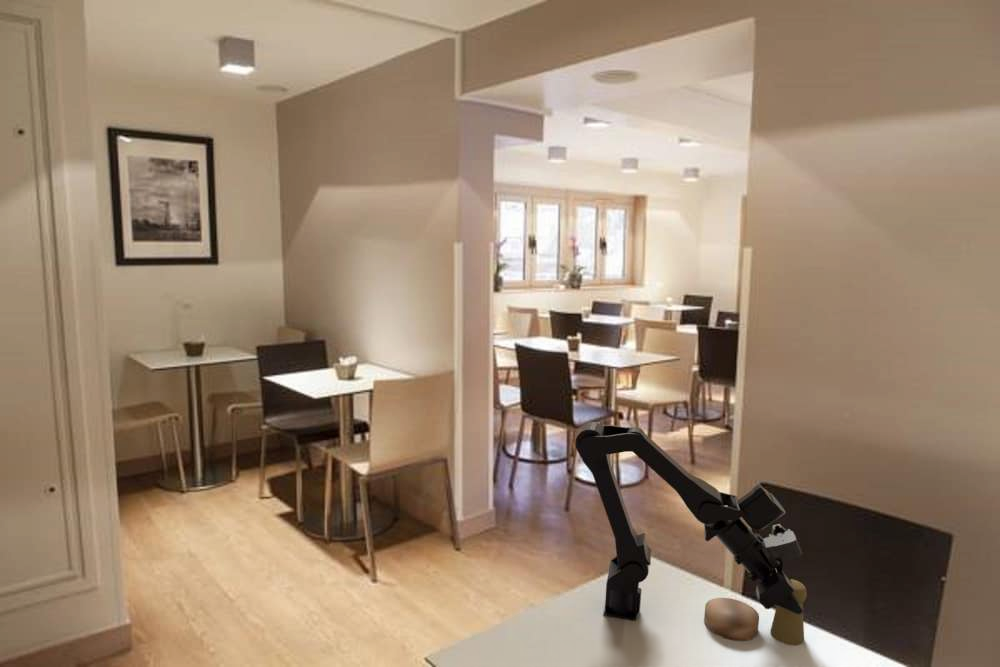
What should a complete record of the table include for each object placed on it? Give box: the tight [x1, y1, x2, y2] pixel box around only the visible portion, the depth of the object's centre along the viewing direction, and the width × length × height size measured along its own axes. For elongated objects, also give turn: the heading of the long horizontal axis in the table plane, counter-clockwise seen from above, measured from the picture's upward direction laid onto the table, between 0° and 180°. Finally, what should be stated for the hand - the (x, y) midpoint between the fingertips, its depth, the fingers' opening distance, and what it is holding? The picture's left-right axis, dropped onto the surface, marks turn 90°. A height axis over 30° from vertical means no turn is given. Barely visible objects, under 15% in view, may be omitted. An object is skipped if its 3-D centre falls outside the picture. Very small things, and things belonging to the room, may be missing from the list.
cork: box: [770, 578, 808, 646], centre depth 125 cm, size 6×6×11 cm
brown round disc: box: [703, 597, 760, 642], centre depth 129 cm, size 10×10×3 cm
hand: (798, 605), depth 125 cm, fingers closed on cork, 5 cm apart
